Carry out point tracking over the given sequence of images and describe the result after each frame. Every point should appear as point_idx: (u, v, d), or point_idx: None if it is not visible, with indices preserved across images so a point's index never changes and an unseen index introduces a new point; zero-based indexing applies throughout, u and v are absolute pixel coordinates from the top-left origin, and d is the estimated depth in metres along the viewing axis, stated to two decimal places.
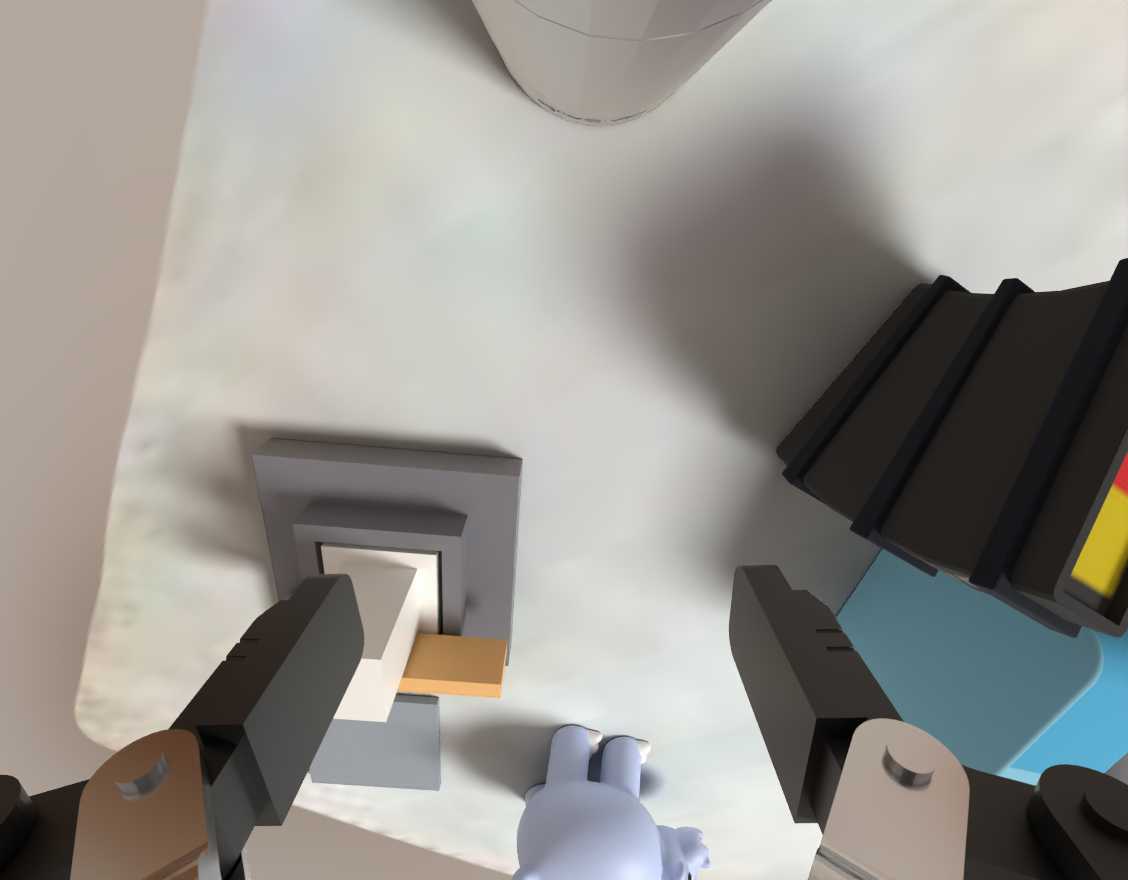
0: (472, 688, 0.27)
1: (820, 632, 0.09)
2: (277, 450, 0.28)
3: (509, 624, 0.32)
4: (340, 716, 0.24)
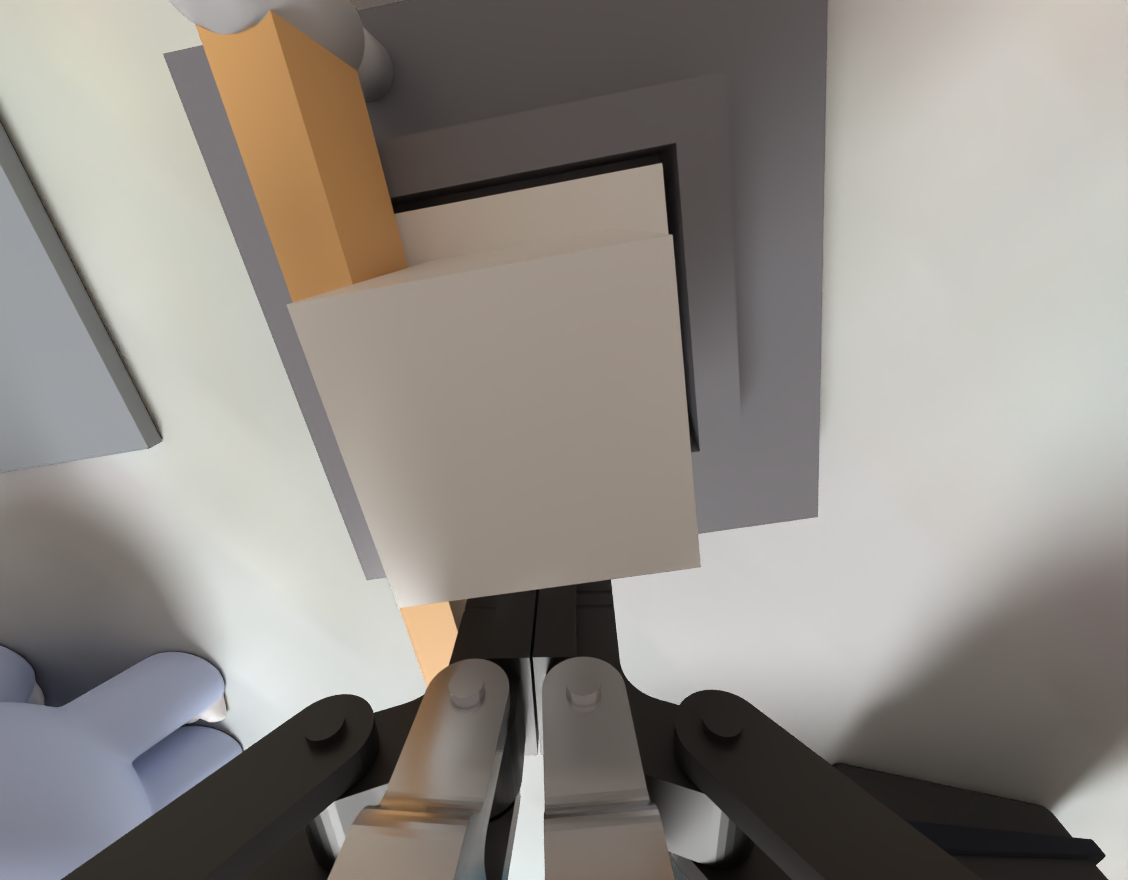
0: (444, 659, 0.11)
1: (593, 593, 0.10)
2: None
3: None
4: (347, 460, 0.06)
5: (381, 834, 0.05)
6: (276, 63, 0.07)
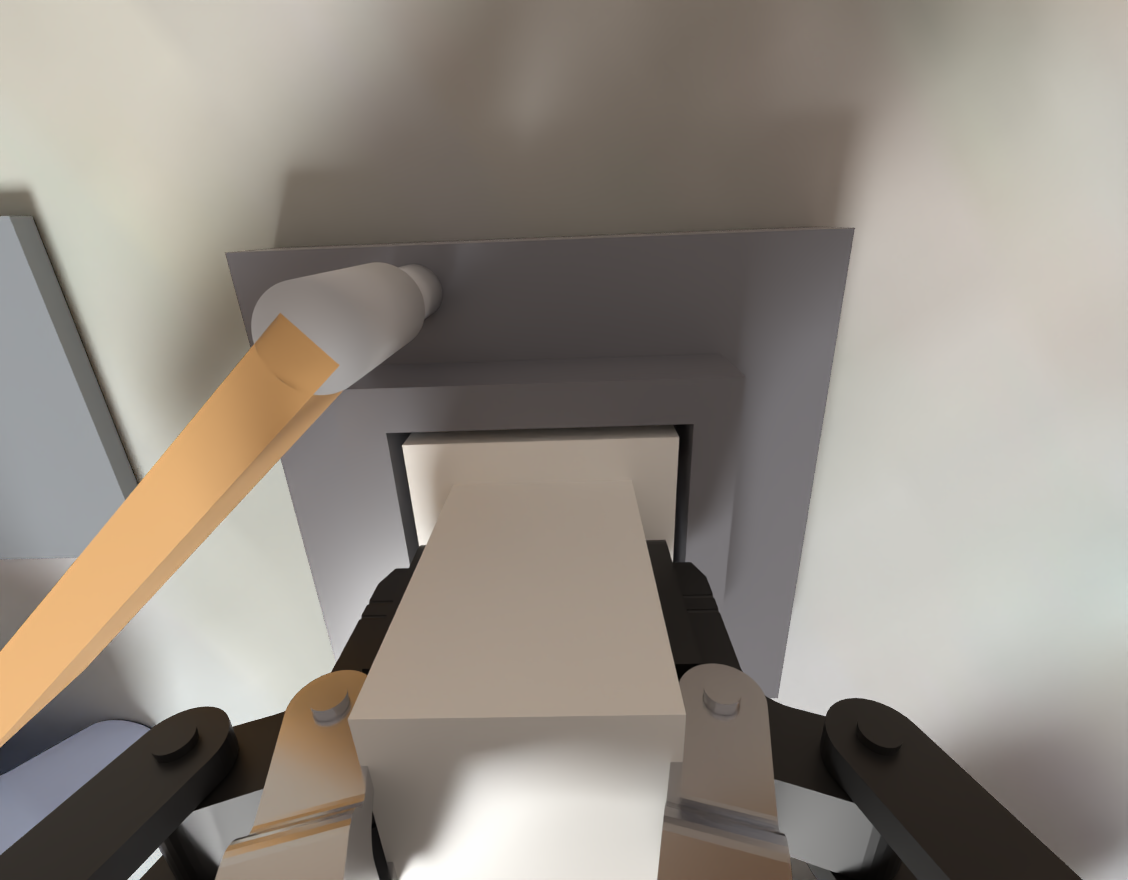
0: None
1: (693, 597, 0.10)
2: None
3: None
4: (377, 811, 0.07)
5: (258, 856, 0.05)
6: (283, 413, 0.08)
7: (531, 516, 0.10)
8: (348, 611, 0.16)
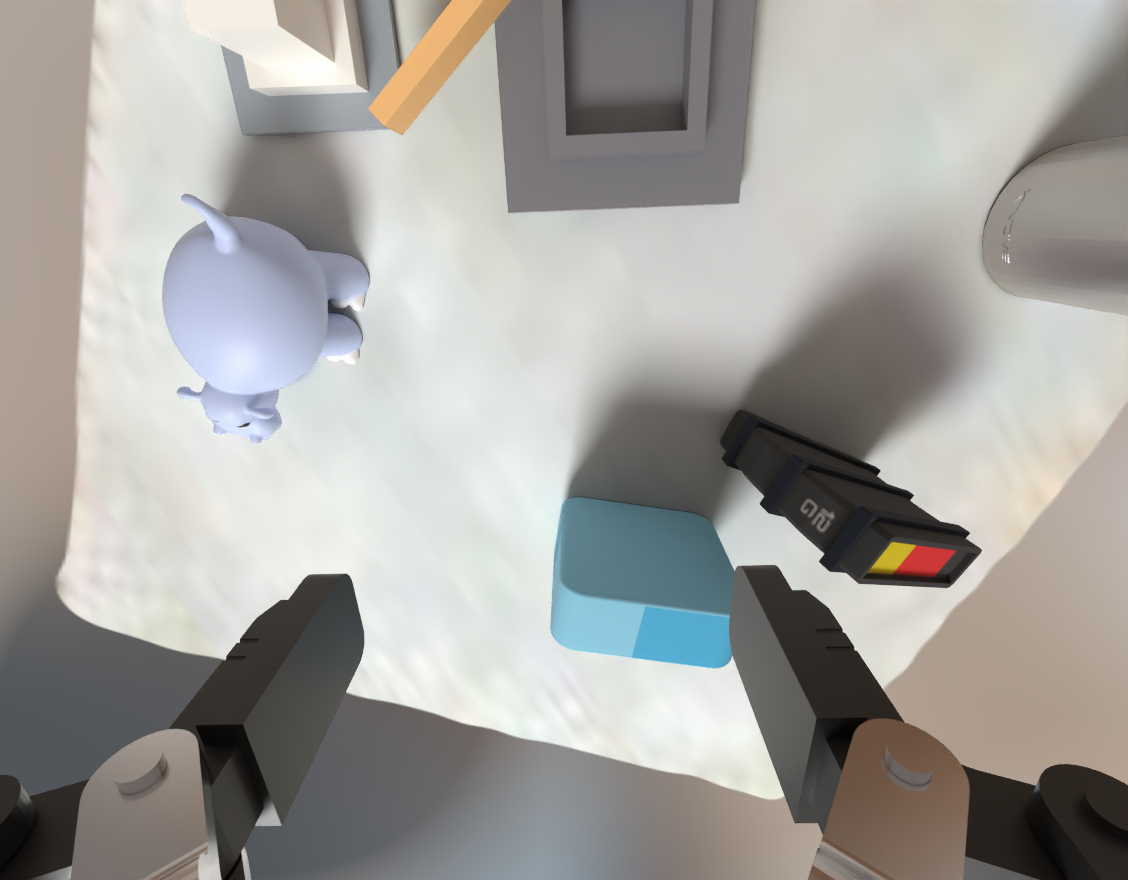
0: (395, 94, 0.25)
1: (820, 632, 0.09)
2: None
3: (565, 208, 0.32)
4: None
5: None
6: None
7: None
8: (516, 140, 0.31)
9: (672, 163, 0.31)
